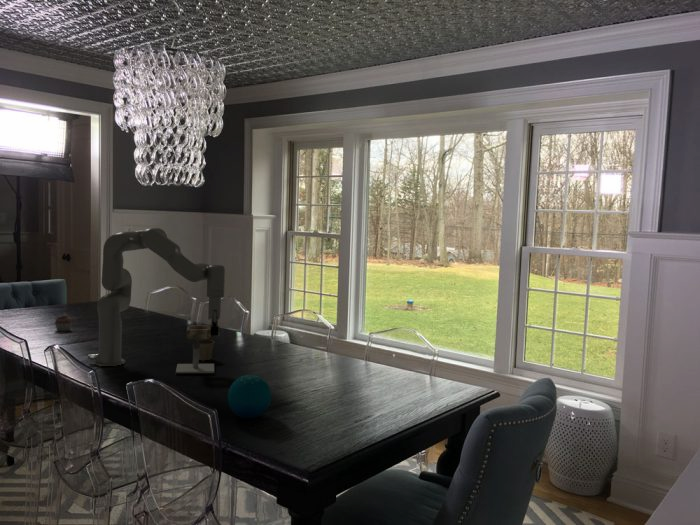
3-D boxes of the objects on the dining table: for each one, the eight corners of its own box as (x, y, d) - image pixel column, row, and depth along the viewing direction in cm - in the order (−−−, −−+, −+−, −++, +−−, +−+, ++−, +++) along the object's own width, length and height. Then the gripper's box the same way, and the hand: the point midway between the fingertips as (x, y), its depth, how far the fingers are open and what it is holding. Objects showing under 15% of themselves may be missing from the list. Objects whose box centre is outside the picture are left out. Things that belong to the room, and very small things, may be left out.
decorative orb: (272, 411, 219) (274, 370, 217) (268, 425, 204) (269, 382, 203) (230, 409, 218) (232, 368, 217) (223, 424, 203) (224, 380, 202)
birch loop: (186, 339, 259) (186, 330, 259) (187, 334, 269) (187, 325, 268) (219, 338, 262) (220, 329, 262) (219, 333, 272) (219, 325, 272)
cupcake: (55, 329, 336) (55, 311, 335) (73, 328, 338) (73, 311, 338) (52, 332, 327) (52, 314, 326) (71, 332, 330) (71, 314, 329)
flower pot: (193, 362, 280) (194, 344, 279) (193, 357, 289) (194, 339, 288) (214, 362, 283) (215, 344, 282) (213, 357, 292) (214, 339, 291)
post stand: (175, 375, 258) (176, 344, 257) (177, 367, 271) (178, 337, 270) (214, 374, 262) (215, 344, 261) (213, 366, 274) (214, 338, 273)
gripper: (206, 290, 272) (205, 330, 274) (206, 295, 256) (205, 338, 258) (223, 290, 274) (222, 330, 275) (224, 295, 258) (223, 338, 259)
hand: (214, 334), depth 267 cm, fingers closed on birch loop, 3 cm apart
